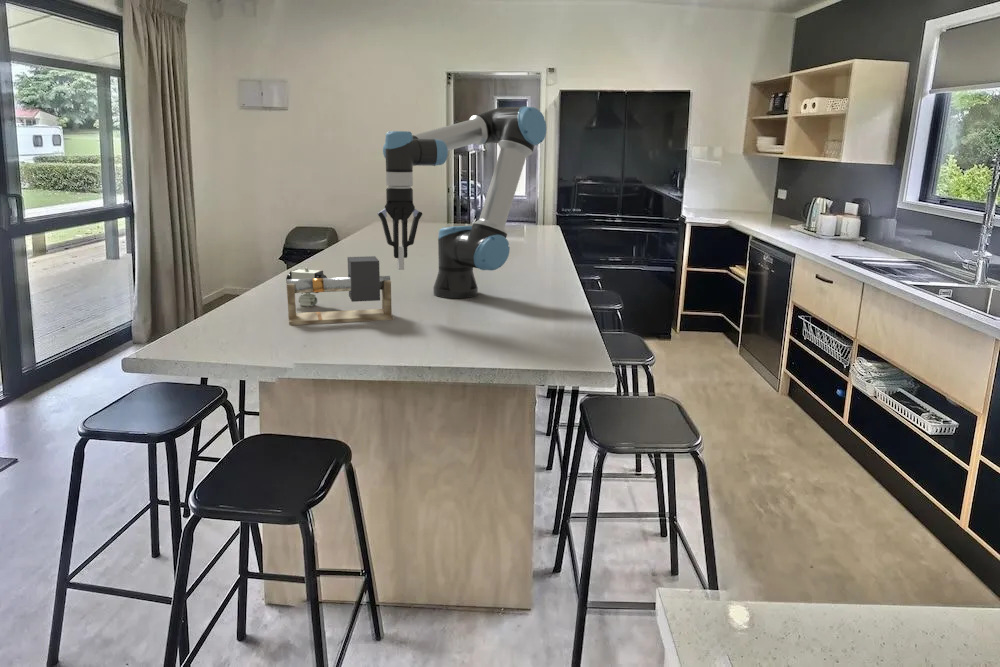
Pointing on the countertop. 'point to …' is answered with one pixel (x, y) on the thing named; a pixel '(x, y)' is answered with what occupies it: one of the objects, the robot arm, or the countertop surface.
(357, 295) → the collar
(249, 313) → the countertop surface
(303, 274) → the pneumatic valve
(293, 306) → the pipe rig
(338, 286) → the pipe
